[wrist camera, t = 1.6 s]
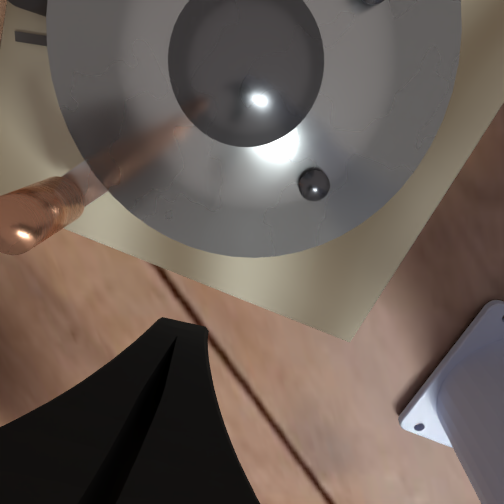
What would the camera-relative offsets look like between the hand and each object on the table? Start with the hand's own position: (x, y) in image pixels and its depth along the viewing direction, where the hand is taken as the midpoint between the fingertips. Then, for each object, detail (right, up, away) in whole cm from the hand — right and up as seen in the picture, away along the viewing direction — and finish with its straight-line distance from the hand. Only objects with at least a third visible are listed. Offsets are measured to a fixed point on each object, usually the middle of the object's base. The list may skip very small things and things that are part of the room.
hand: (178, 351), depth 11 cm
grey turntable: (+1, +8, +2) cm, 8 cm away
